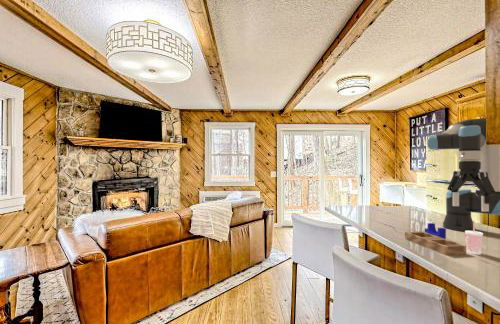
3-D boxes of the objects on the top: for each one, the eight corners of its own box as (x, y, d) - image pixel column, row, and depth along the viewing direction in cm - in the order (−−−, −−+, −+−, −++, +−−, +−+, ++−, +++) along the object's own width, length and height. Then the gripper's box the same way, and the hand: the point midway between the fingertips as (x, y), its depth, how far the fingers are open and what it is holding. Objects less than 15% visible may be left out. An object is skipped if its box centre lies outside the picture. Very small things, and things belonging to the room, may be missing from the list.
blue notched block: (424, 233, 146) (424, 223, 146) (433, 234, 145) (433, 223, 145) (436, 239, 134) (436, 228, 134) (445, 240, 133) (445, 228, 133)
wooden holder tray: (405, 238, 135) (405, 232, 135) (422, 238, 137) (422, 231, 137) (445, 254, 112) (445, 246, 112) (466, 253, 113) (466, 245, 113)
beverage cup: (464, 249, 119) (464, 218, 119) (482, 252, 115) (482, 220, 115) (464, 253, 114) (464, 221, 114) (483, 256, 110) (483, 223, 110)
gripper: (438, 161, 128) (438, 204, 127) (491, 160, 103) (491, 214, 103) (452, 161, 128) (452, 204, 128) (507, 160, 104) (507, 213, 104)
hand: (469, 208), depth 115 cm, fingers open, 13 cm apart
